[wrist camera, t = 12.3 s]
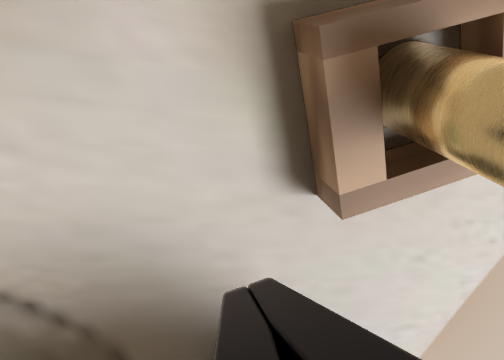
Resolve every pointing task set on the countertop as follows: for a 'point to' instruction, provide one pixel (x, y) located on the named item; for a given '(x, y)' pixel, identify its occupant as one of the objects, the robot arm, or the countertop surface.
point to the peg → (447, 103)
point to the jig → (376, 97)
